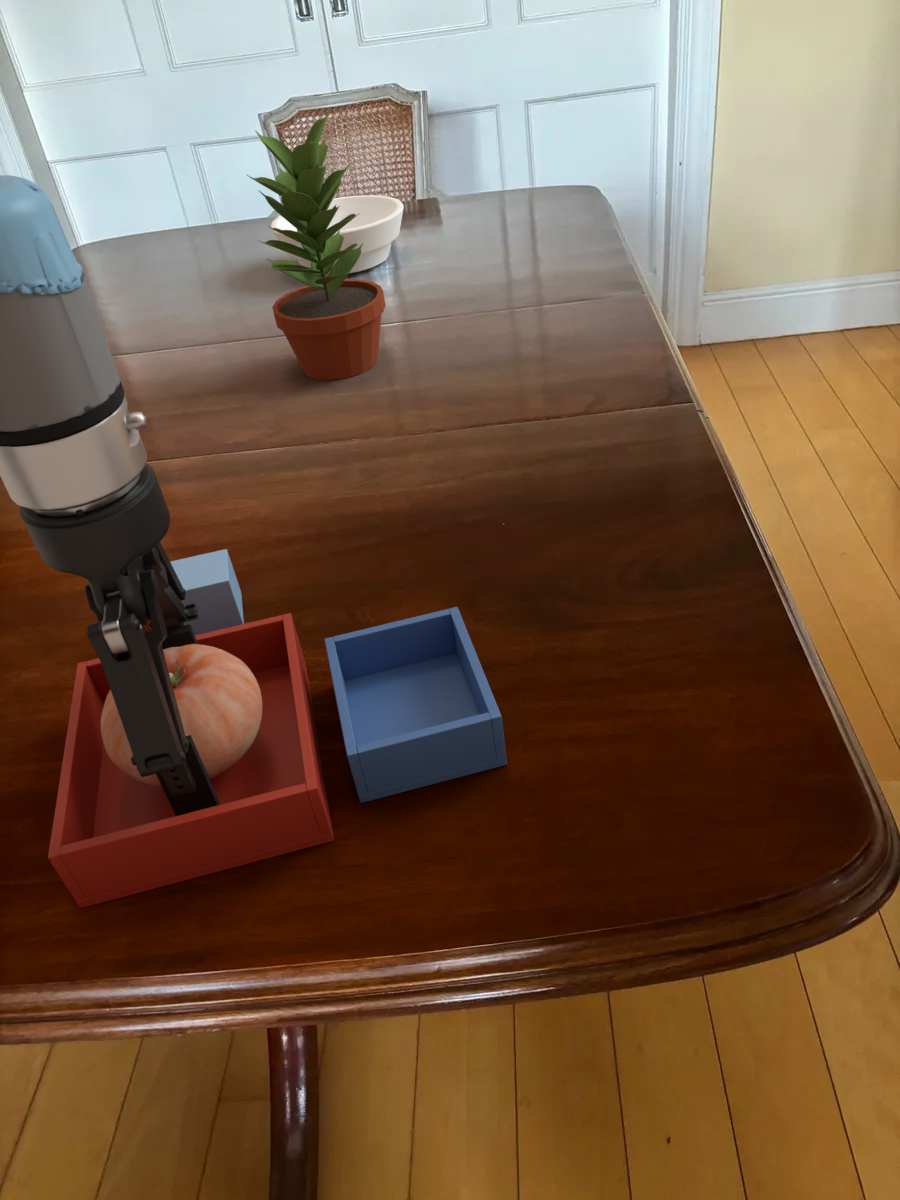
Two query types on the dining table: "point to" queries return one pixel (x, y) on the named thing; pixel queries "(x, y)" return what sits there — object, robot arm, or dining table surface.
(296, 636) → the red bin
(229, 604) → the blue block
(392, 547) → the dining table surface
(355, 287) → the potted plant
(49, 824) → the dining table surface
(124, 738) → the tomato
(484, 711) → the blue bin
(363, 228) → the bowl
